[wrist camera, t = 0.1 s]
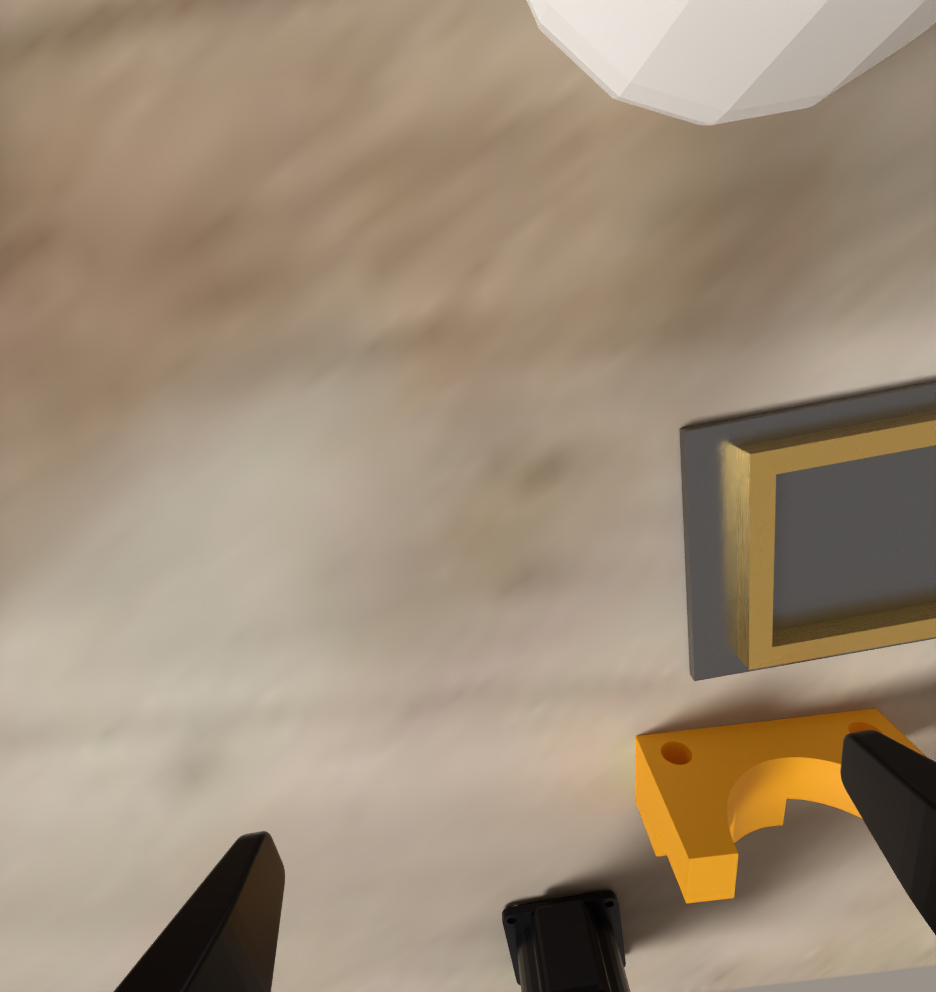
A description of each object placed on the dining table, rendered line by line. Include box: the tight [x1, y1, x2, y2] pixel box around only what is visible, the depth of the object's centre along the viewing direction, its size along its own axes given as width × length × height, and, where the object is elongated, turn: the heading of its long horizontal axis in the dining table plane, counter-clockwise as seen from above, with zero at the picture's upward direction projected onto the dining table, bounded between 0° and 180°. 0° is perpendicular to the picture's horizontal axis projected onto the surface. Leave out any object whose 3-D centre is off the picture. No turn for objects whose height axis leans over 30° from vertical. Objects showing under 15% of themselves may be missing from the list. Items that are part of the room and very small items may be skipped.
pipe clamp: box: [635, 708, 926, 903], centre depth 25 cm, size 12×4×6 cm, turn 96°
